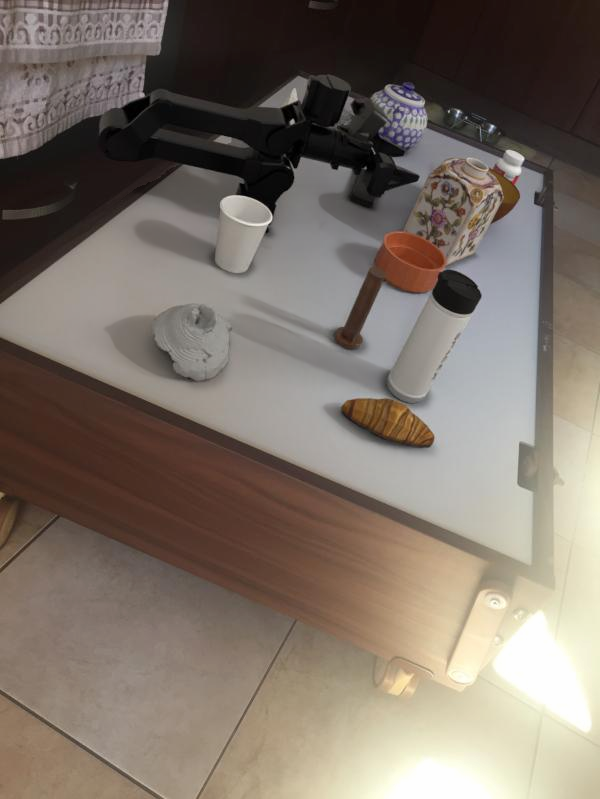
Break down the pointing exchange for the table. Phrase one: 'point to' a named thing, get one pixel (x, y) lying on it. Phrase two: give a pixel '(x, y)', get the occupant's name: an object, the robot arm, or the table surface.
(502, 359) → the table surface
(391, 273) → the orange round container
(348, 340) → the brown flanged peg
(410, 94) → the teapot
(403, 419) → the croissant
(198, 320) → the grey clay mound
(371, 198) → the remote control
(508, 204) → the bowl
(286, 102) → the stone tool
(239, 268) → the dixie cup
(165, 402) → the table surface
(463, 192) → the decorative jar
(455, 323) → the travel mug
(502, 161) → the pill bottle
